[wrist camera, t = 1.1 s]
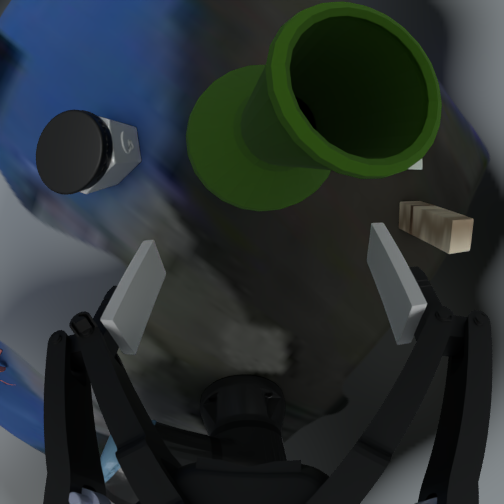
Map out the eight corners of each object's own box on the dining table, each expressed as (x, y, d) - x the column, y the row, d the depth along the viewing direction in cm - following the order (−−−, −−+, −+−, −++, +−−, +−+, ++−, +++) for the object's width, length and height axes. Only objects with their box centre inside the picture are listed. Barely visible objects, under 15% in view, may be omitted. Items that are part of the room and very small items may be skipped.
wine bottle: (294, 151, 35) (552, 162, 4) (242, 198, 36) (320, 417, 5) (246, 99, 32) (340, -118, 1) (192, 147, 34) (-12, 104, 3)
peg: (418, 226, 39) (469, 250, 28) (398, 228, 39) (448, 254, 28) (420, 200, 38) (473, 218, 27) (399, 201, 38) (452, 219, 27)
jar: (146, 177, 34) (111, 187, 23) (92, 191, 34) (43, 207, 23) (136, 110, 31) (98, 93, 20) (82, 128, 31) (31, 122, 20)
